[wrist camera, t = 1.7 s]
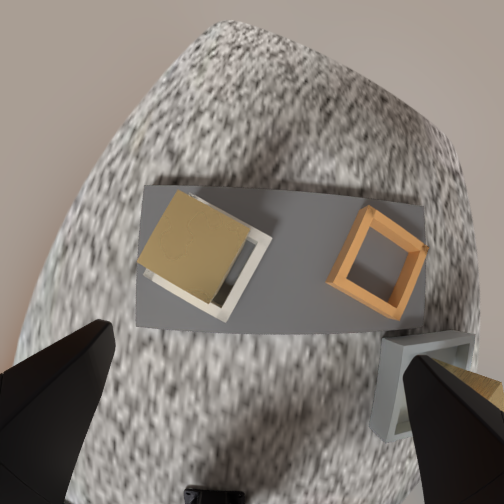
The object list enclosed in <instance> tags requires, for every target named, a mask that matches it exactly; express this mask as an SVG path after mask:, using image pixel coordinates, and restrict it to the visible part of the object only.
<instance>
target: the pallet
mask: <svg viewBox="0 0 504 504" xmlns="http://www.w3.org/2000/svg"><path fill="white" fill-rule="evenodd" d="M177 190H180V191H182V192H184V193H186V194H188V195H189V196H191V197H193V198H195V199H197V200H199V201H201V202H202V203H204V204H206V205H208V206H210V207H212V208H213V209H215V210H217V211H219V212H221V213H223V214H224V215H226V216H228V217H230V218H232V219H234V220H235V221H237V222H239V223H241V224H243V225H244V226H246V227H248V228H250V231H249V234H248V236H247V239H246V241H245V244H244V246H243V248H242V250H241V252H240V254H239V256H238V257H237V259H236V261H235V263H234V265H233V266H232V268H231V270H230V272H229V274H228V276H227V277H226V279H225V281H224V283H223V285H222V286H221V288H220V290H219V292H218V293H217V295H216V296H215V297H214V298H213V300H212V301H211V302H210V303H209V304H207V303H205V302H203V301H202V300H200V299H198V298H196V297H195V296H193V295H191V294H189V293H188V292H186V291H184V290H182V289H181V288H179V287H177V286H176V285H174V284H172V283H171V282H169V281H167V280H165V279H164V278H162V277H160V276H159V275H157V274H155V273H154V272H152V271H151V270H149V269H147V268H146V267H144V266H142V265H141V264H139V263H138V262H137V279H136V327H145V328H155V329H166V330H179V331H193V332H210V333H232V334H336V333H358V332H375V331H389V330H401V329H411V328H421V327H423V320H424V306H425V285H426V255H427V252H428V249H429V247H428V246H426V239H425V218H424V206H419V205H412V204H405V203H398V202H391V201H384V200H376V199H368V198H360V197H351V196H342V195H333V194H323V193H312V192H300V191H288V190H274V189H259V188H241V187H218V186H182V185H144V192H143V201H142V210H141V220H140V231H139V243H138V258H139V256H140V254H141V253H142V251H143V249H144V247H145V245H146V243H147V242H148V240H149V238H150V236H151V234H152V233H153V231H154V229H155V227H156V225H157V224H158V222H159V220H160V218H161V217H162V215H163V213H164V212H165V210H166V208H167V207H168V205H169V203H170V202H171V200H172V198H173V197H174V195H175V193H176V192H177ZM137 260H138V259H137Z"/></svg>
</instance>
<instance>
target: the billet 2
mask: <svg viewBox="0 0 504 504" xmlns="http://www.w3.org/2000/svg"><path fill="white" fill-rule="evenodd" d="M432 359H433V360H434V361H436V362H437V363H439V364H440V365H441V366H443V367H444V368H445V369H447V370H448V371H449V372H451V373H452V374H453V375H455V376H456V377H458V378H459V379H460V380H462V381H463V382H464V383H466V384H467V385H468V386H470V387H471V388H472V389H474V390H475V391H476V392H478V393H479V394H480V395H482V396H483V397H484V398H486V399H487V400H488V401H490V402H491V403H492V404H494V405H495V406H496V407H498V408H499V409H500V410H502V411H503V412H504V392H503V387H502V382H499V381H496V380H493V379H490V378H487V377H485V376H482V375H479V374H476V373H473V372H470V371H467V370H465V369H462V368H459V367H456V366H453V365H451V364H448V363H445V362H442V361H440V360H437V359H434V358H432Z"/></svg>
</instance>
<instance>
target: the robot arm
mask: <svg viewBox="0 0 504 504" xmlns="http://www.w3.org/2000/svg"><path fill="white" fill-rule="evenodd" d="M115 347H116V344H115V338H114V332H113V326H112V323H111V322H109V321H105V320H101V319H97V320H95V321H93V322H91V323H89V324H88V325H86V326H84V327H82V328H80V329H79V330H77V331H75V332H73V333H71V334H70V335H68V336H66V337H64V338H62V339H61V340H59V341H57V342H55V343H53V344H52V345H50V346H48V347H46V348H45V349H43V350H41V351H39V352H38V353H36V354H34V355H32V356H30V357H29V358H27V359H25V360H23V361H22V362H20V363H18V364H16V365H15V366H13V367H11V368H9V369H8V370H6V371H4V373H1V374H0V504H63V503H64V499H65V496H66V492H67V489H68V486H69V483H70V480H71V477H72V473H73V470H74V467H75V465H76V462H77V459H78V456H79V453H80V450H81V447H82V445H83V442H84V439H85V437H86V434H87V431H88V429H89V426H90V423H91V421H92V418H93V416H94V413H95V411H96V408H97V406H98V403H99V401H100V398H101V396H102V392H103V389H104V386H105V382H106V379H107V375H108V372H109V369H110V365H111V362H112V359H113V356H114V352H115ZM403 385H404V391H405V397H406V404H407V411H408V417H409V422H410V427H411V431H412V436H413V440H414V445H415V449H416V454H417V459H418V465H419V470H420V476H421V481H422V487H423V494H424V502H425V504H504V412H503V411H502V410H500V409H499V408H498V407H496V406H495V405H494V404H492V403H491V402H490V401H488V400H487V399H486V398H484V397H483V396H482V395H480V394H479V393H478V392H476V391H475V390H474V389H472V388H471V387H470V386H468V385H467V384H466V383H464V382H463V381H462V380H460V379H459V378H458V377H456V376H455V375H453V374H452V373H451V372H449V371H448V370H447V369H445V368H444V367H443V366H441V365H440V364H439V363H437V362H436V361H434V360H433V359H432V358H430V357H429V356H427V355H416V356H414V357H413V359H412V360H411V362H410V363H409V365H408V367H407V368H406V370H405V371H404V374H403ZM187 492H189V493H187ZM239 495H241V496H239ZM184 499H185V504H244V503H245V494H244V492H240V491H210V490H197V489H185V490H184Z"/></svg>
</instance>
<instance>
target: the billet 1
mask: <svg viewBox="0 0 504 504" xmlns="http://www.w3.org/2000/svg"><path fill="white" fill-rule="evenodd" d="M249 231H250V228H248V227H246V226H244V225H243V224H241V223H239V222H237V221H235V220H234V219H232V218H230V217H228V216H226V215H224V214H223V213H221V212H219V211H217V210H215V209H213V208H212V207H210V206H208V205H206V204H204V203H202V202H201V201H199V200H197V199H195V198H193V197H191V196H189V195H188V194H186V193H184V192H182V191H180V190H177V192H176V193H175V195H174V197H173V198H172V200H171V202H170V203H169V205H168V207H167V208H166V210H165V212H164V213H163V215H162V217H161V218H160V220H159V222H158V224H157V225H156V227H155V229H154V231H153V233H152V234H151V236H150V238H149V240H148V242H147V243H146V245H145V247H144V249H143V251H142V253H141V254H140V256H139V258H138V260H137V262H138V263H139V264H141V265H142V266H144V267H146V268H147V269H149V270H151V271H152V272H154V273H155V274H157V275H159V276H160V277H162V278H164V279H165V280H167V281H169V282H171V283H172V284H174V285H176V286H177V287H179V288H181V289H182V290H184V291H186V292H188V293H189V294H191V295H193V296H195V297H196V298H198V299H200V300H202V301H203V302H205V303H207V304H209V303H210V302H211V301H212V300H213V298H214V297H215V296H216V295H217V293H218V292H219V290H220V288H221V286H222V285H223V283H224V281H225V279H226V277H227V276H228V274H229V272H230V270H231V268H232V266H233V265H234V263H235V261H236V259H237V257H238V256H239V254H240V252H241V250H242V248H243V246H244V244H245V241H246V239H247V236H248V234H249Z"/></svg>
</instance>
